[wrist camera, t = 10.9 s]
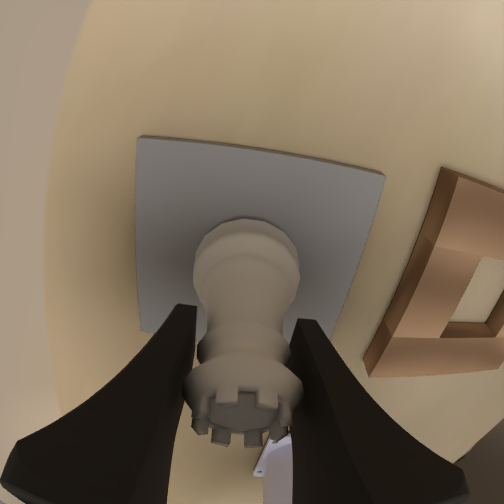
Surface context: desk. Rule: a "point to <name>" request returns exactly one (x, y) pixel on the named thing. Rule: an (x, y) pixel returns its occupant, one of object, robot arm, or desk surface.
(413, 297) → the pocket holder
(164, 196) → the rubber pad
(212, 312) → the rook chess piece
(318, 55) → the desk surface
